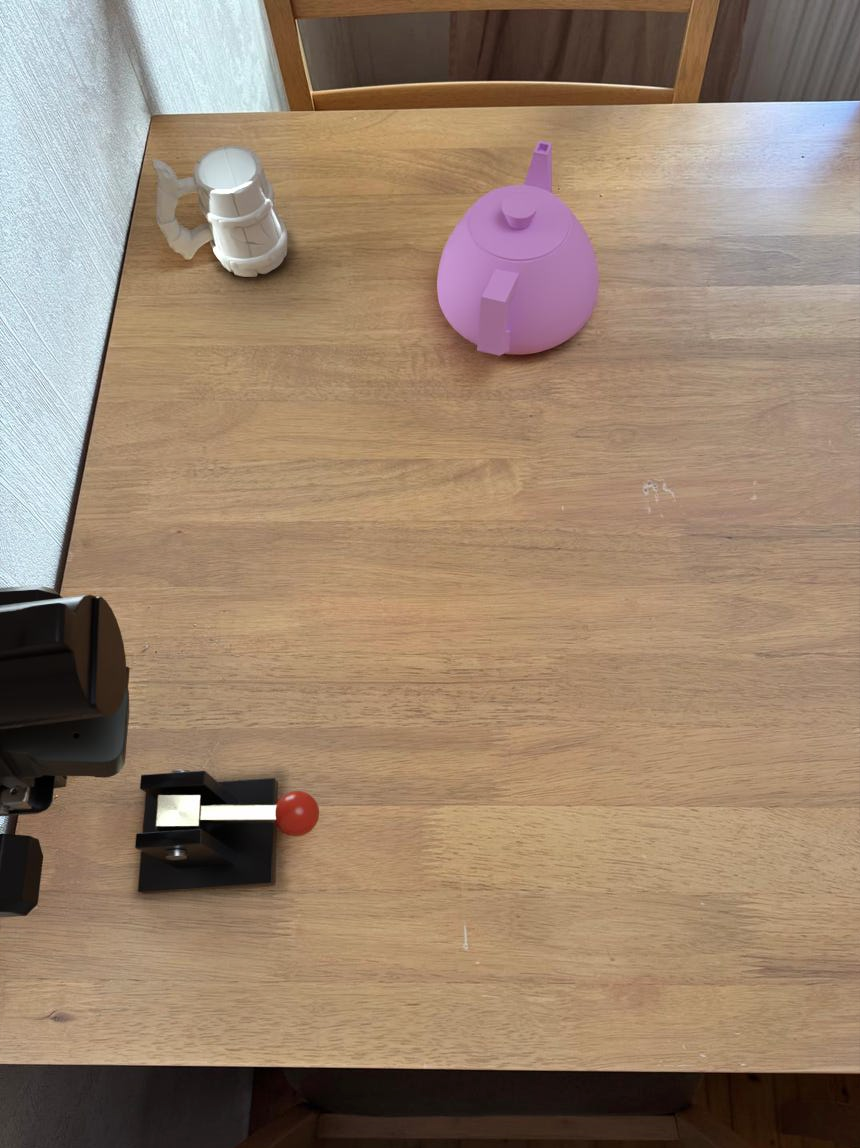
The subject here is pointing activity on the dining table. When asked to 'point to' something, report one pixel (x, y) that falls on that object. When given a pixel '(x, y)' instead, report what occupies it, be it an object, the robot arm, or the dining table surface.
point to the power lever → (238, 813)
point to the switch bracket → (206, 837)
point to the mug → (225, 211)
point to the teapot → (519, 268)
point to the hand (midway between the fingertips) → (59, 781)
